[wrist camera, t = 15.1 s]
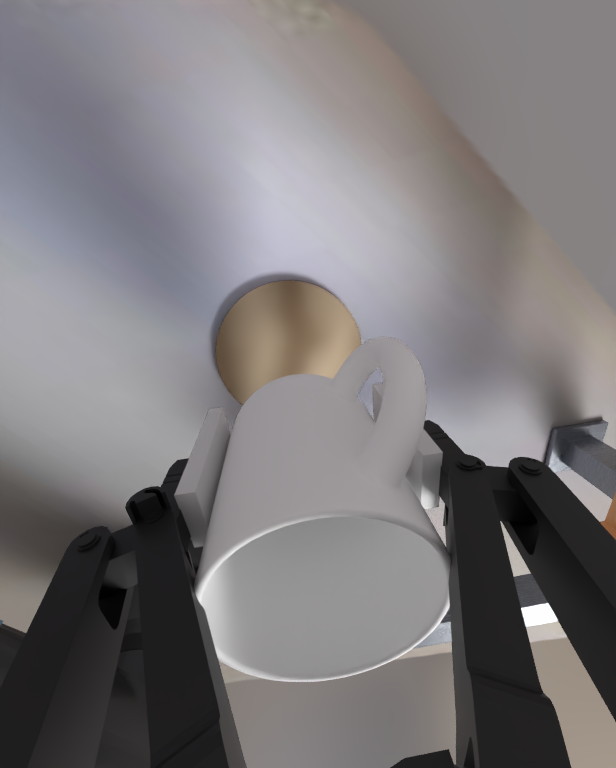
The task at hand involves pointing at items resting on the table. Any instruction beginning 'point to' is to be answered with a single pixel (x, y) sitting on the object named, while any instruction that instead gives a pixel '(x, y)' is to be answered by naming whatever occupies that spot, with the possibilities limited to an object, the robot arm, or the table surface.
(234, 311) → the coaster
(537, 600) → the rail frame
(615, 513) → the orange bar
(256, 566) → the mug
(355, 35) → the table surface
